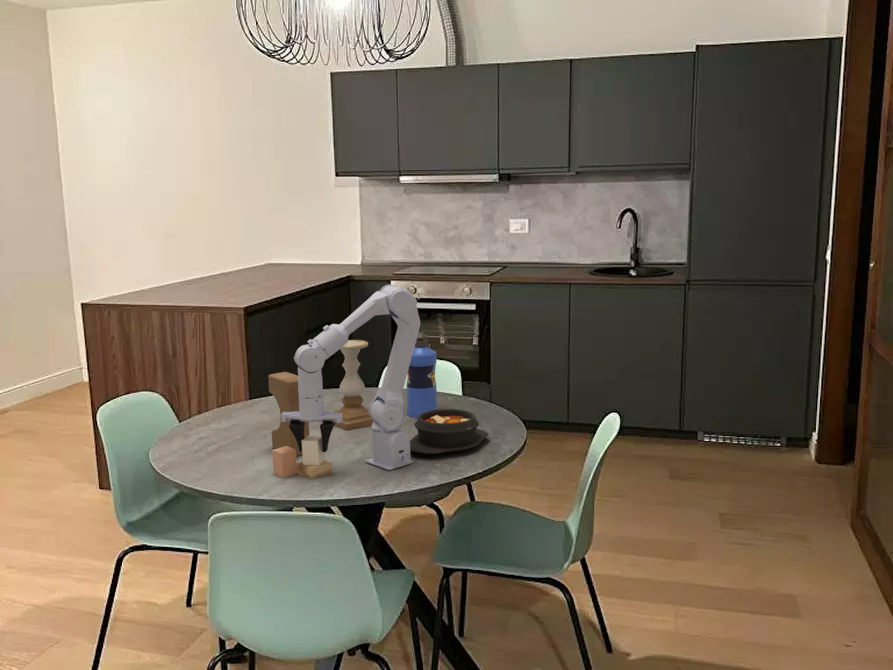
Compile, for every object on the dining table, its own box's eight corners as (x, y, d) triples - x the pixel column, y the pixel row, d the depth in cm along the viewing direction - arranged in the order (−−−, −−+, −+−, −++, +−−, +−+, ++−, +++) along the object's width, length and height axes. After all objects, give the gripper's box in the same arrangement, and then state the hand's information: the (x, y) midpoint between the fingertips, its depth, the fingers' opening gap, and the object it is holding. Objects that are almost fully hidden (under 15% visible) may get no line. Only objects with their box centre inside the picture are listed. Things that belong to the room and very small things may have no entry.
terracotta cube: (297, 473, 195) (295, 449, 194) (282, 477, 193) (281, 453, 192) (287, 469, 198) (286, 446, 197) (273, 473, 195) (272, 449, 194)
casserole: (438, 466, 199) (438, 433, 197) (388, 450, 211) (387, 419, 210) (504, 442, 216) (504, 412, 215) (454, 429, 229) (453, 400, 228)
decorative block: (271, 447, 215) (267, 374, 212) (290, 443, 219) (287, 371, 215) (291, 457, 207) (287, 381, 203) (311, 453, 210) (307, 378, 207)
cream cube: (325, 460, 196) (323, 436, 195) (318, 465, 192) (317, 441, 191) (309, 459, 197) (307, 435, 196) (303, 464, 193) (301, 440, 192)
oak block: (332, 474, 195) (331, 462, 195) (311, 480, 191) (311, 468, 191) (317, 468, 200) (317, 456, 199) (297, 474, 195) (296, 462, 195)
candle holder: (346, 430, 230) (342, 348, 225) (328, 422, 238) (324, 342, 234) (379, 423, 236) (376, 343, 232) (360, 415, 245) (357, 338, 240)
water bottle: (439, 410, 249) (437, 330, 245) (435, 418, 240) (433, 335, 236) (409, 409, 250) (407, 330, 246) (404, 418, 241) (401, 335, 237)
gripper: (345, 391, 195) (347, 446, 197) (287, 391, 197) (289, 444, 199) (337, 399, 188) (339, 455, 190) (277, 398, 190) (280, 453, 192)
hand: (313, 450), depth 194 cm, fingers open, 5 cm apart
